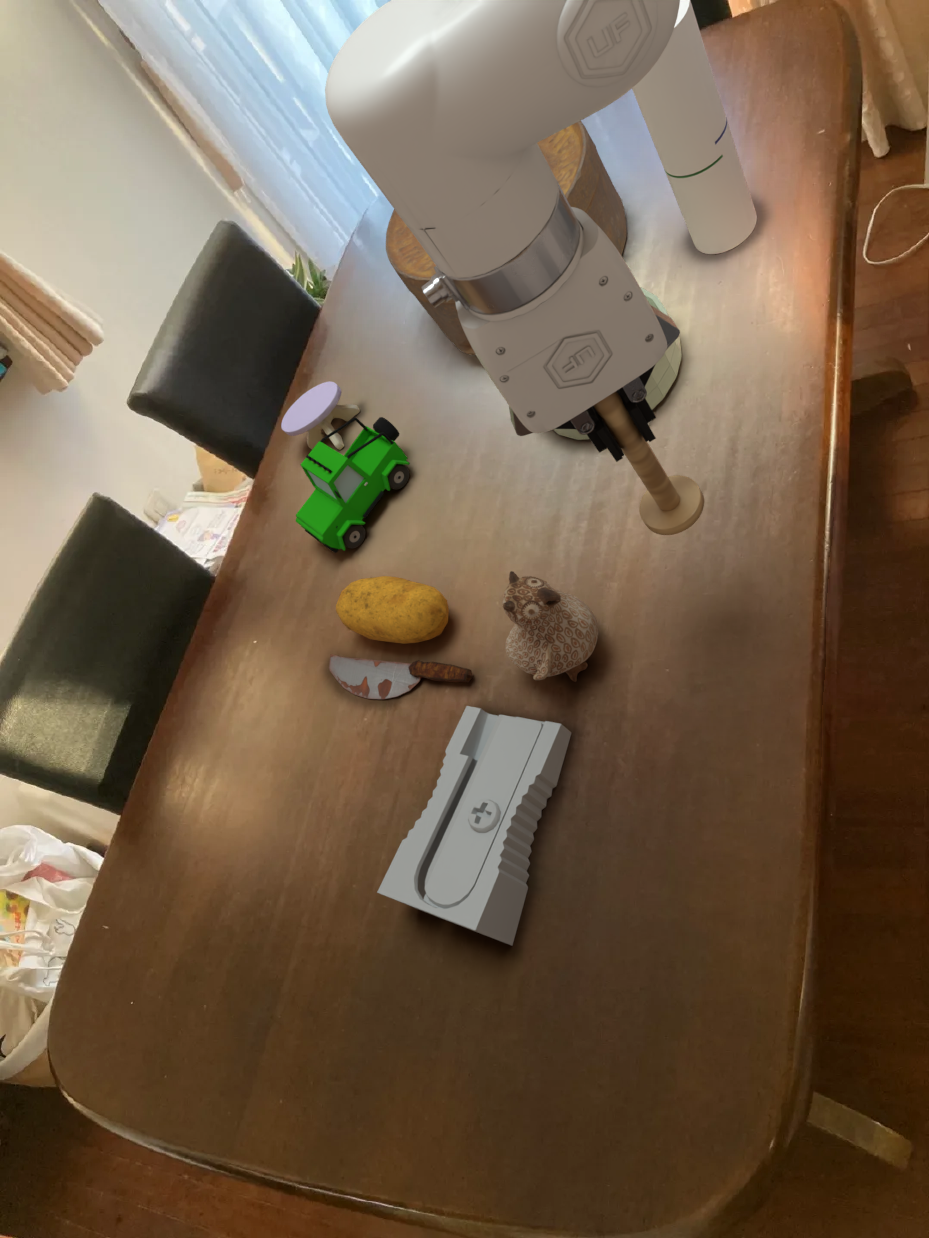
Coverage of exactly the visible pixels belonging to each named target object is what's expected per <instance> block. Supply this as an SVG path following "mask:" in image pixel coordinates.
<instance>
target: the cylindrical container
mask: <svg viewBox="0 0 929 1238" xmlns="http://www.w3.org/2000/svg"><path fill="white" fill-rule="evenodd" d="M710 63H711V62H710V60H709V55H708V53H707V50H706V47H705V43H704V41H703V37H702V33H701V30H700V27H699V24H698V20H697V17H696V14H695V11H694V8H693V4H692V1H691V0H680V5H679V10H678V16H677V20H676V23H675V26H674V30H673V32H672V35H671V37H670V39H669V42H668V44H667V46H666V48H665V49H664V51H663V53H662V54H661V56H660V58H659V59H658V61H657V62H656V64H655V65H654V66H653V67H652V69H651V70H650V71H649V72H648V74H647V75H646V76H645V77H644V78H643V79H642V80H641V81H640V82H639V83H638V84H636V85H635V86H634V87H633V88H632V89H631V90H632V92H633V95H634V97H635V100H636V102H637V105H638V108H639V111H640V112H641V115H642V118H643V120H644V123H645V125H646V128H647V130H648V133H649V136H650V138H651V140H652V142H653V145H654V147H655V150H656V153H657V155H658V158H659V160H660V162H661V165H662V168H663V170H664V173H665V175H666V178H667V180H668V183H669V185H670V188H671V190H672V193H673V196H674V198H675V200H676V203H677V205H678V208H679V210H680V213H681V215H682V218H683V221H684V223H685V226H686V228H687V230H688V233H689V235H690V238H691V240H692V243H693V245H694V248H695V249H696V250H697V251H698V252H700V253H702V254H706V255H715V254H717V255H718V254H722V253H726V252H728V251H731V250H732V249H734V248H736V247H738V246H739V245H741V244H742V243H744V242H745V241H746V240H747V239H748V238H749V237H750V235H752V233H753V232H754V229H755V228H756V225H757V222H758V221H757V220H758V217H757V211H756V208H755V205H754V202H753V198H752V195H751V192H750V189H749V186H748V182H747V179H746V176H745V173H744V169H743V167H742V162H741V160H740V157H739V154H738V153H739V152H738V150H737V147H736V143H735V140H734V137H733V134H732V130H731V128H730V123H729V121H728V117H727V114H726V112H725V111H726V110H725V107H724V105H723V101H722V98H721V95H720V92H719V89H718V86H717V85H718V84H717V82H716V79H715V76H714V73H713V72H714V71H713V68H712V66H711V64H710Z"/></svg>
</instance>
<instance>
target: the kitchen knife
mask: <svg viewBox="0 0 929 1238" xmlns="http://www.w3.org/2000/svg"><path fill="white" fill-rule="evenodd" d="M328 664H329V665H328V670H329V672H330V673H331V675H332V676H333V677H334V678H335V680H336V681H337V682H338V684H339V685H340V686H341V687H342V688H343V689H344V690H346V691H348V692H349V693H351V694H352V695H354V696H357V697H361V698H365V699H368V700H387V699H392V698H398V697H400V696H402V695H404V694H406V693H408V692H410V691H411V690H412V689H414V687H415V686H417V685H418V684H419V683H420V681H421V679H428V680H431V681H435V682H446V683H469V682H470V681H471V680H472V679H473V678H474V676H473V672H472V669H470V668H465V667H462V666H457V665H454V664H448V663H442V662H438V661H422V660H420V659H418V660H414V661H412V662H411V663H410V662H409V663H408V662H399V661H390V660H378V659H368V658H358V657H349V656H344V655H343V656H341V655H337V654H333V653H330V655H329V663H328Z"/></svg>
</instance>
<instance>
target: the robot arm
mask: <svg viewBox="0 0 929 1238" xmlns="http://www.w3.org/2000/svg"><path fill="white" fill-rule="evenodd" d="M679 5H680V0H388V1H387V2H386V3H384V4H383V5H381V6H380V7H379V8H377V9H376V10H375V11H373V12H372V13H371V14H370V15H369V16H367V17H366V18H365V19H364V20H363V21H362V22H361V23H360V24H359V25H358V26H357V27H356V28H355V29H354V30H353V31H352V32H351V34H350V35H349V36H348V38H347V39H346V40H345V42H344V43H343V44H342V46H340V49H339V50H338V52H337V53H336V55H335V56H334V59H333V61H332V62H331V65H330V67H329V69H328V72H327V77H326V81H325V86H324V92H325V95H324V96H325V106H326V109H327V113H328V115H329V118H330V121H331V122H332V123H331V124H332V125H333V126H334V128H335V129H336V131H337V133H338V134H339V135H340V137H341V139H342V140H343V142H344V143H345V144H346V146H347V147H348V149H349V150H350V151H351V153H352V154H353V155H354V156H355V158H356V159H357V161H358V162H359V164H360V165H361V166H362V167H363V169H364V170H365V172H366V173H367V174H368V175H369V177H370V178H371V179H372V181H373V183H374V184H375V185H376V187H377V188H378V189H379V190H380V192H381V193H382V194H383V196H384V197H385V198H386V201H388V203H389V204H390V205H391V207H392V208H393V210H394V209H395V211H396V212H397V213H398V215H399V216H400V217H401V219H402V220H403V221H404V223H405V224H406V225H407V227H408V228H409V229H410V231H411V232H412V233H413V234H414V236H415V237H416V239H417V240H418V241H419V243H420V244H421V246H422V247H423V248H424V250H425V251H426V253H427V254H428V255H429V257H430V258H431V259H432V261H433V262H434V263H435V265H436V266H435V267H434V269H435V272H436V274H434V275H433V276H431V280H430V281H429V282H427V283H426V284H425V285H423V286H422V290H423V292H424V294H425V296H426V297H427V299H428V300H429V302H430V303H431V304H432V306H433V307H436V306H438V305H439V304H441V303H442V302H443V301H446V302H448V301H449V300H451V299H453V300H454V301H455V303H456V309H457V312H458V317H459V320H460V323H461V325H462V328H463V330H464V332H465V335H466V337H467V339H468V341H469V343H470V345H471V347H472V349H473V350H474V352H475V354H476V355H475V356H476V358H477V359H478V361H479V362H480V365H482V367H483V369H484V371H485V372H486V373H487V375H488V377H489V378H490V380H491V381H492V383H493V384H494V386H495V388H496V389H497V390H498V392H499V393H500V394H501V396H502V397H503V399H504V400H505V402H506V404H507V405H508V409H509V415H510V421H511V422H510V423H511V425H512V426H513V429H514V431H515V434H516V435H517V436H518V437H524V436H528V435H531V434H542V433H543V434H544V433H547V432H550V431H554V430H553V429H577V431H578V432H579V433H580V434H582V435H586V434H587V436H588V437H589V439H588V440H590V442H591V443H592V444H593V446H594V447H595V449H596V450H597V452H598V453H601V452H602V451H605V450H606V449H607V450H608V452H609V453H610V455H611V457H612V458H613V459H614V461H615V462H616V463H618V462H619V461H621V460H623V459H624V458H623V457H624V456H625V454H624V453H623V451H622V449H621V447H620V446H619V444H618V443H617V441H616V440H615V438H614V437H613V435H612V434H611V432H610V430H609V429H608V427H607V426H606V424H605V423H604V421H603V420H602V418H601V416H600V415H599V414H598V412H597V411H596V409H595V408H594V406H593V405H595V404H596V403H598V402H600V401H601V400H603V399H604V398H606V397H608V396H609V395H611V394H612V393H614V392H615V391H617V392H618V394H619V396H620V397H621V399H622V402H623V404H624V406H625V408H626V410H627V411H628V413H629V415H630V417H631V418H632V420H633V421H634V423H635V425H636V426H637V428H638V430H639V431H640V433H641V435H642V436H643V438H644V440H645V441H646V442H648V443H651V442H653V441H654V440H656V439H657V438H656V435H655V434H654V433H653V431H652V428H651V427H650V425H649V423H651V422H652V421H654V420H655V419H657V417H656V415H655V413H654V411H653V409H651V408H650V406H649V404H648V402H647V401H646V399H645V397H646V395H647V391H646V389H645V386H646V384H647V382H648V379H649V377H650V375H651V373H652V371H653V369H654V367H655V365H656V363H657V362H658V361H659V360H660V359H661V358H662V356H663V355H664V354H665V352H666V350H667V349H668V348H669V347H670V345H671V344H672V343H673V342H674V341H675V340H676V339H677V338H678V336H679V337H680V335H681V330H680V329H679V327H678V325H677V324H676V323H675V321H674V320H673V318H672V317H671V316H670V315H669V316H670V317H669V316H667V315H666V314H664V313H663V312H661V311H660V310H658V309H656V308H655V307H653V306H652V305H650V304H649V302H648V300H647V298H646V296H645V295H644V293H643V291H642V289H641V288H640V287H641V286H640V284H639V282H638V281H637V279H636V277H635V276H634V273H633V272H632V270H631V269H630V266H628V264H627V262H626V261H625V259H624V258H623V255H620V253H619V251H618V250H617V248H616V247H615V246H614V244H613V243H612V242H611V240H610V239H609V238H608V237H607V235H606V234H605V233H604V232H603V231H602V229H601V228H600V227H599V226H598V225H597V224H596V223H595V222H594V221H593V220H592V219H591V218H590V217H589V216H588V214H587V213H585V212H584V211H583V210H581V209H578V208H575V207H571V206H570V204H569V202H568V201H567V199H566V197H565V195H564V193H563V191H562V189H561V187H560V185H559V183H558V182H557V180H556V178H555V176H554V174H553V172H552V171H551V169H550V167H549V165H548V163H547V161H546V159H545V157H544V155H543V153H542V151H541V150H540V148H539V146H538V144H537V143H538V142H539V141H541V140H543V139H545V138H547V137H549V136H551V135H553V134H555V133H557V132H559V131H561V130H563V129H565V128H567V127H569V126H571V125H573V124H575V123H577V122H579V121H581V122H582V121H583V120H584V119H587V118H589V117H590V116H592V115H593V114H596V113H598V112H600V111H601V110H603V109H605V108H607V107H609V106H610V105H612V104H613V103H615V102H616V101H617V100H619V99H620V98H622V97H623V96H625V95H626V94H627V93H629V91H630V90H632V88H633V87H634V86H635V85H636V84H638V83H639V82H640V81H641V80H642V79H643V78H644V77H645V76H646V75H647V74H648V72H649V71H650V70H651V69H652V67H653V66H654V65H655V64H656V62H657V61H658V59H659V58H660V56H661V54H662V53H663V51H664V49H665V48H666V46H667V44H668V42H669V39H670V37H671V35H672V32H673V30H674V26H675V23H676V20H677V16H678V10H679Z"/></svg>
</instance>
